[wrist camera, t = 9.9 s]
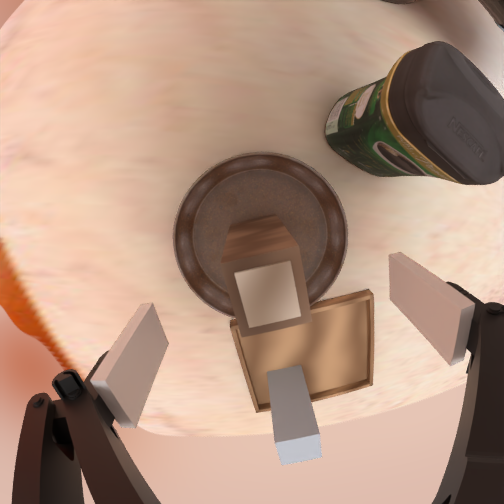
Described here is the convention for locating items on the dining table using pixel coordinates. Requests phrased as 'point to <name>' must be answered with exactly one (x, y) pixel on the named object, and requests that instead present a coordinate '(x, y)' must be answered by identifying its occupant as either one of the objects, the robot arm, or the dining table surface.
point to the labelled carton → (264, 276)
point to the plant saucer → (252, 207)
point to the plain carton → (293, 416)
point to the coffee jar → (424, 120)
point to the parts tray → (315, 350)
